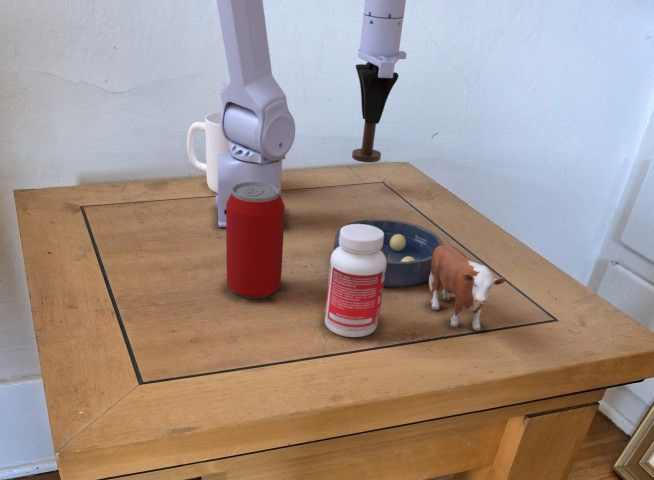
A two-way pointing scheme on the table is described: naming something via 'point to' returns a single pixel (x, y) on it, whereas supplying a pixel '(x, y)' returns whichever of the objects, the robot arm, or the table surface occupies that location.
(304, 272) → the table surface
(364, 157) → the brown peg stand
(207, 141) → the cup
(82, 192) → the table surface
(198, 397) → the table surface
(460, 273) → the bull figurine
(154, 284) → the table surface
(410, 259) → the bead
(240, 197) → the beverage can
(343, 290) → the pill bottle
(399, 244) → the bead
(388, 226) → the bowl
